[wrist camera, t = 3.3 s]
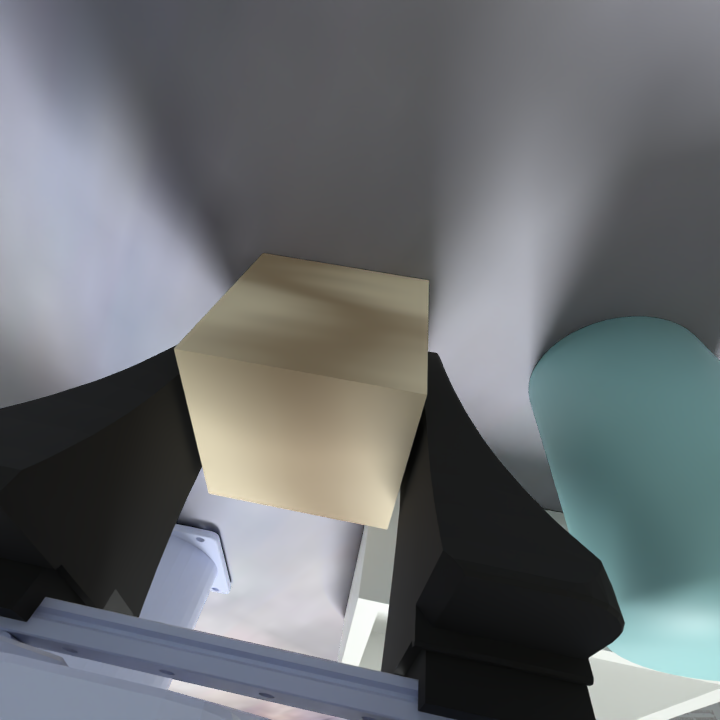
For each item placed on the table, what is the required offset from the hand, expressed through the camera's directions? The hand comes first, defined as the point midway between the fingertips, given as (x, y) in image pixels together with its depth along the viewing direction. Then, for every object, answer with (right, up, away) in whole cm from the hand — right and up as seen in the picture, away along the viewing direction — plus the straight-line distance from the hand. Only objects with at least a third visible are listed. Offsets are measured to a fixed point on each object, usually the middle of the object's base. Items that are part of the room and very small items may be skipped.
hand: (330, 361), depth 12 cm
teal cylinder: (+9, -1, +1) cm, 9 cm away
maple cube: (0, +1, +1) cm, 1 cm away
